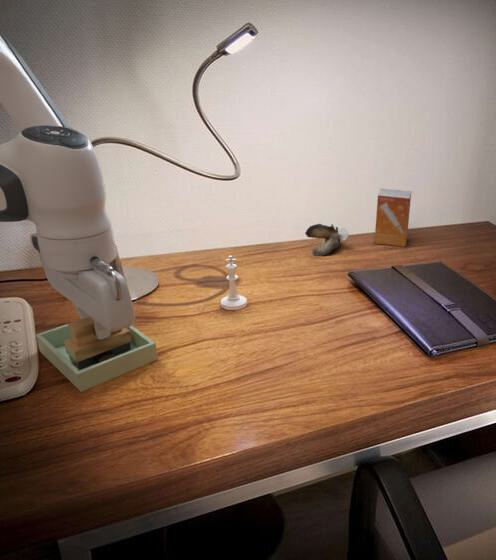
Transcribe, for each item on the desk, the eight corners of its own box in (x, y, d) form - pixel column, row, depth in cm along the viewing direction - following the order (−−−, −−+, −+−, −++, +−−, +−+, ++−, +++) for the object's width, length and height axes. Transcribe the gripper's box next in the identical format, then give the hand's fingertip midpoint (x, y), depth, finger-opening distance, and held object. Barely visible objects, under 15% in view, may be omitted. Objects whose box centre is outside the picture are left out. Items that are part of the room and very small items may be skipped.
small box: (374, 244, 133) (377, 194, 127) (377, 235, 139) (379, 187, 133) (405, 247, 133) (410, 198, 127) (407, 238, 139) (411, 190, 133)
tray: (40, 355, 81) (35, 334, 80) (114, 328, 90) (111, 309, 88) (82, 396, 74) (76, 374, 72) (158, 363, 82) (155, 342, 80)
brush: (121, 340, 85) (115, 305, 82) (133, 349, 83) (127, 314, 80) (68, 360, 79) (59, 324, 76) (78, 370, 77) (70, 334, 74)
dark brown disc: (95, 364, 79) (94, 359, 79) (115, 356, 81) (114, 351, 81) (105, 373, 78) (103, 367, 77) (125, 364, 80) (124, 359, 79)
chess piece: (248, 308, 99) (246, 260, 95) (221, 311, 98) (217, 262, 93) (246, 296, 103) (243, 250, 99) (219, 299, 102) (215, 252, 97)
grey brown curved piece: (323, 234, 133) (298, 237, 126) (338, 215, 130) (314, 217, 122) (340, 257, 131) (316, 261, 124) (356, 238, 128) (332, 242, 120)
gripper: (139, 264, 70) (153, 351, 76) (71, 223, 81) (88, 301, 87) (89, 278, 65) (108, 369, 71) (24, 232, 76) (45, 314, 82)
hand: (97, 331), depth 79 cm, fingers closed on brush, 2 cm apart
